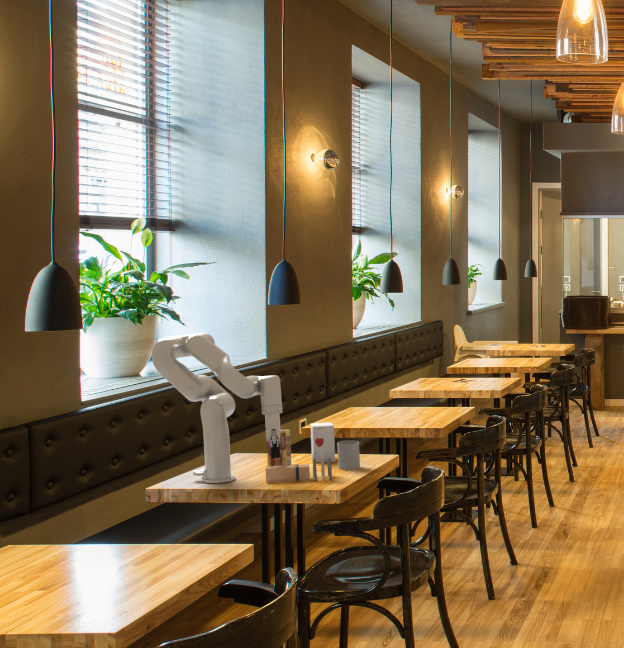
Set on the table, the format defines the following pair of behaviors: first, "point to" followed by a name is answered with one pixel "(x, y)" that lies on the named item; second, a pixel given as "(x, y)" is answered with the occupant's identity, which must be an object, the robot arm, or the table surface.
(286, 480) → the tall tan block
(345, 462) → the cup
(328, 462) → the grey open box frame
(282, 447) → the candy box
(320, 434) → the supplement box
